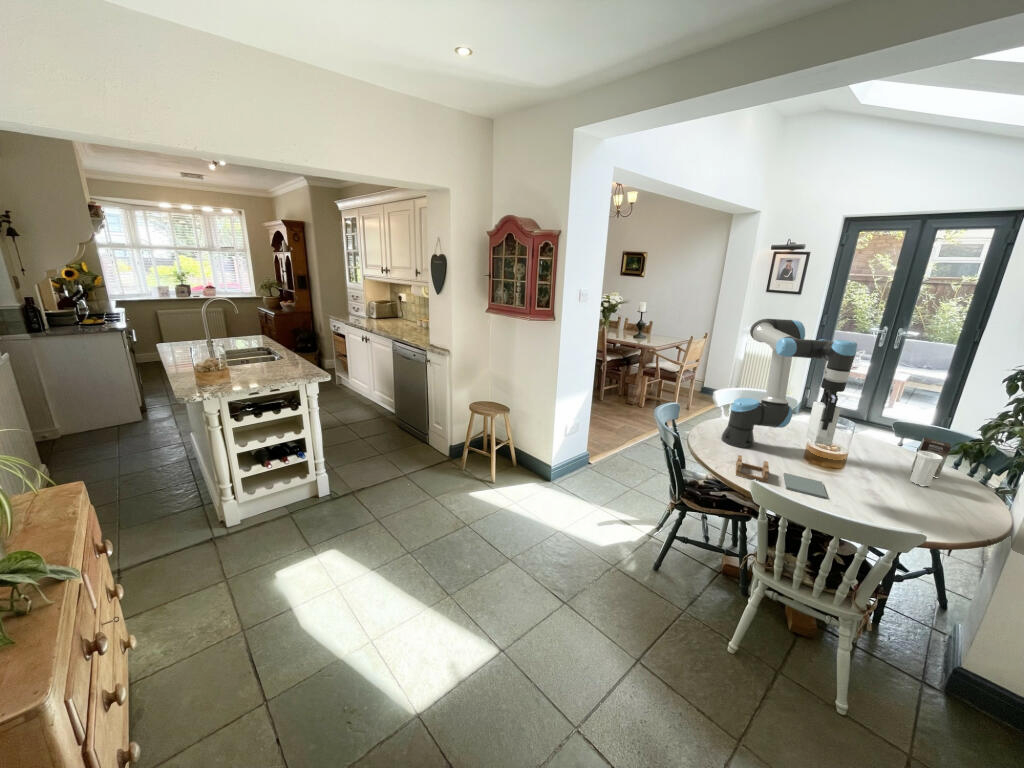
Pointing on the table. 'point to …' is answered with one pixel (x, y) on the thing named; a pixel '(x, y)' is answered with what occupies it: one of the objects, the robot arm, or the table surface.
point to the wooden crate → (764, 470)
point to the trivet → (804, 485)
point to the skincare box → (815, 423)
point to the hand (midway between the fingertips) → (819, 432)
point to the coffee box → (935, 451)
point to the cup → (925, 467)
